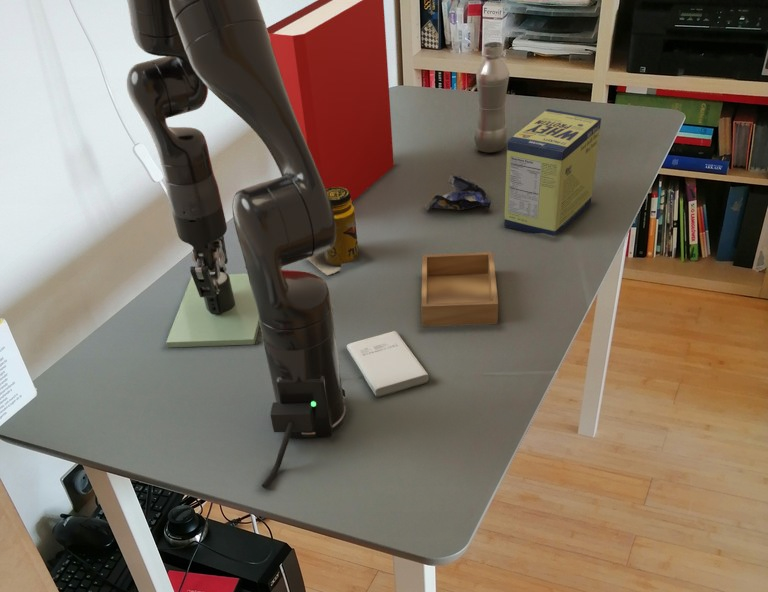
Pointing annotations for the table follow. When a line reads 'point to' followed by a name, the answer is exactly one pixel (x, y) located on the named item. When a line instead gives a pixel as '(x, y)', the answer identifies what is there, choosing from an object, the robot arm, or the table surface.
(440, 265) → the bento box
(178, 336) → the sushi plate
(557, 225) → the protein box
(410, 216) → the table surface
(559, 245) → the table surface
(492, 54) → the plastic bottle
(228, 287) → the sushi roll
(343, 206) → the condiment
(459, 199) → the snack package
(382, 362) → the hard drive
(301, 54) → the book
